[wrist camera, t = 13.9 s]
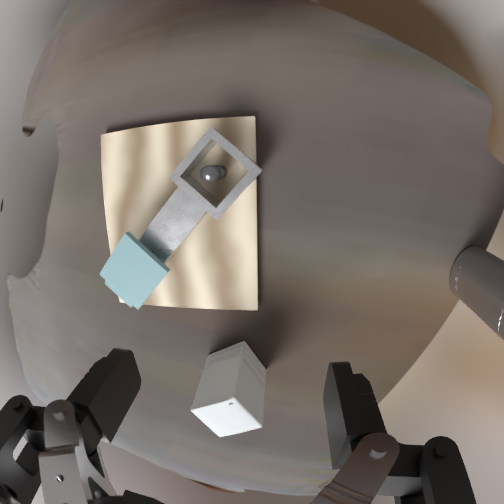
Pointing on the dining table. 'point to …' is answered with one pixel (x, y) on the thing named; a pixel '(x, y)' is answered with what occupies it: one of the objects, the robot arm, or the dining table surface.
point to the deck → (209, 229)
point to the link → (193, 198)
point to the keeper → (133, 271)
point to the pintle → (212, 173)
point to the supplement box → (231, 391)
